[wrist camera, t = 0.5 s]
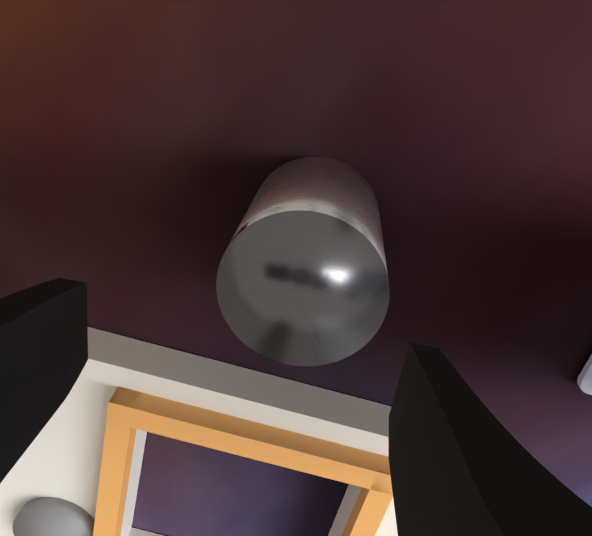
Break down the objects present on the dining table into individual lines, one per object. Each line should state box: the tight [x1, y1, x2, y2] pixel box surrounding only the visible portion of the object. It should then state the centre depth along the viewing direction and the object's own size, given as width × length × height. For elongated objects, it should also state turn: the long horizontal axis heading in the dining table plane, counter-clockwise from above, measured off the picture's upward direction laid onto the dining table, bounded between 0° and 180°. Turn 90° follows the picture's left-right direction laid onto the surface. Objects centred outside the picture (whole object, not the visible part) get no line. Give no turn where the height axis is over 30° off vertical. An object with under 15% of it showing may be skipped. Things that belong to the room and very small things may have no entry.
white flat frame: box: [0, 327, 398, 536], centre depth 25 cm, size 22×15×3 cm
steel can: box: [216, 156, 390, 366], centre depth 18 cm, size 5×5×6 cm
